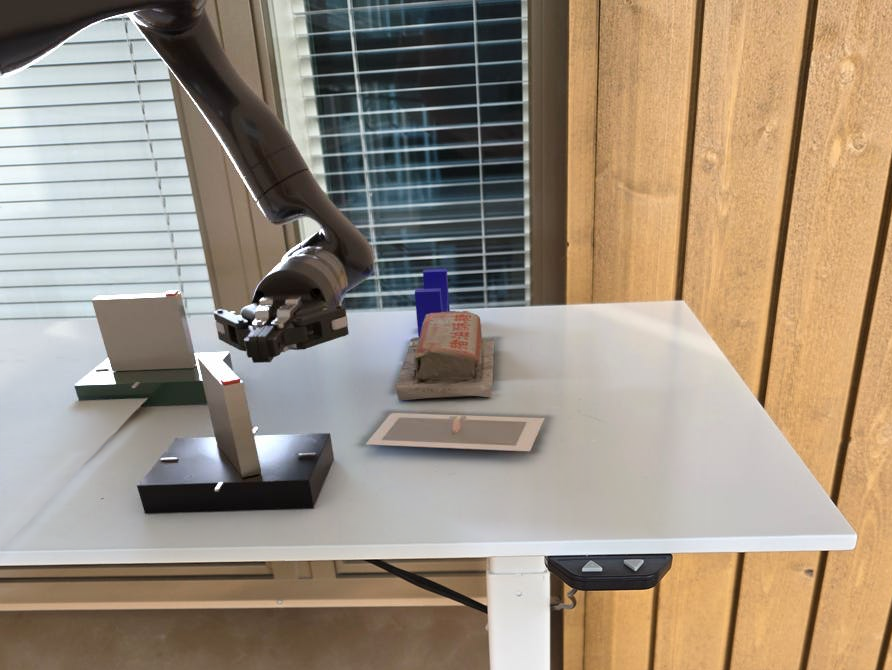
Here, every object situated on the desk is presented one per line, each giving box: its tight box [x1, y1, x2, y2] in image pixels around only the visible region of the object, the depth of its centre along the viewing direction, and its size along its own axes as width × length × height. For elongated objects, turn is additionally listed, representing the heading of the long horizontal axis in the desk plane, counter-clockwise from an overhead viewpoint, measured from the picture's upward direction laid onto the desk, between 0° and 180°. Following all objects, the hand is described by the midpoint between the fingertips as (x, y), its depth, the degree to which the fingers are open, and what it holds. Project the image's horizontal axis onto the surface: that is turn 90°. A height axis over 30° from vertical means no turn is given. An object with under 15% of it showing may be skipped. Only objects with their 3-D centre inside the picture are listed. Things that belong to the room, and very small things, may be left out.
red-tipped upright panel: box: [197, 352, 261, 478], centre depth 72 cm, size 9×2×8 cm, turn 27°
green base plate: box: [73, 351, 235, 407], centre depth 97 cm, size 14×13×3 cm
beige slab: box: [91, 290, 197, 371], centre depth 95 cm, size 9×2×8 cm, turn 88°
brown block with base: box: [395, 310, 495, 401], centre depth 97 cm, size 18×5×10 cm
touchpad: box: [365, 412, 545, 452], centre depth 81 cm, size 8×15×2 cm, turn 77°
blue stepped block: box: [414, 268, 456, 338], centre depth 111 cm, size 12×4×6 cm, turn 178°
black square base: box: [136, 426, 335, 514], centre depth 75 cm, size 14×13×3 cm
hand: (259, 350), depth 75 cm, fingers closed
